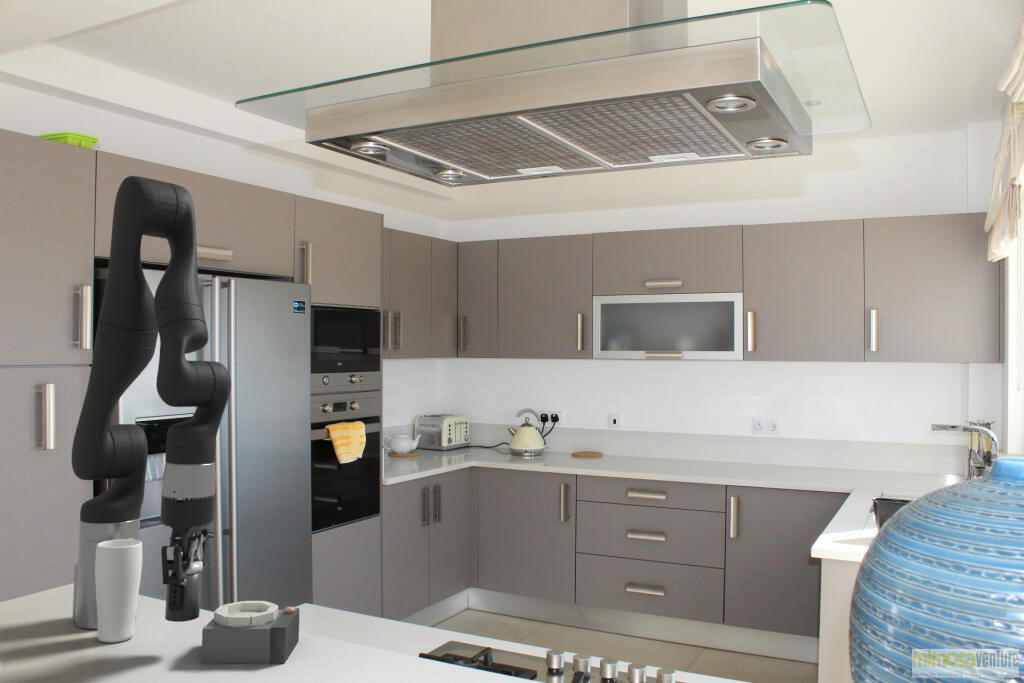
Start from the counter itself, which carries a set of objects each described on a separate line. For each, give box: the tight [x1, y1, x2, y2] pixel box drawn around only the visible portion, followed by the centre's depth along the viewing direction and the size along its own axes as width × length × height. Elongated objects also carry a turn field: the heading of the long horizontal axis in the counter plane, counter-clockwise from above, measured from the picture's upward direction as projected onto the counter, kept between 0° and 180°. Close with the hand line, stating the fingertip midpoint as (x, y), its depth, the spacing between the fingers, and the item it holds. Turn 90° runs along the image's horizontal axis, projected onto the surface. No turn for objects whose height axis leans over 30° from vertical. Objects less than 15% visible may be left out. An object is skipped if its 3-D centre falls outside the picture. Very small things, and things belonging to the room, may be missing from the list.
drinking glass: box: [95, 539, 143, 644], centre depth 129 cm, size 7×7×15 cm
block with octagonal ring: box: [200, 600, 301, 665], centre depth 124 cm, size 12×10×6 cm
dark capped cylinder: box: [164, 561, 204, 623], centre depth 123 cm, size 5×5×8 cm
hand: (182, 604), depth 123 cm, fingers closed on dark capped cylinder, 4 cm apart
